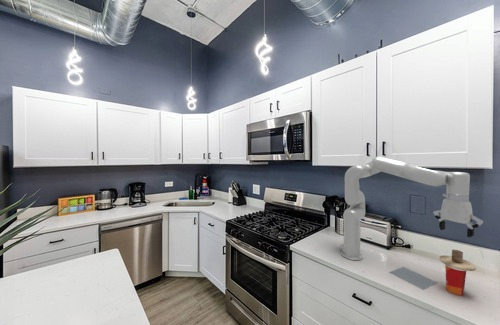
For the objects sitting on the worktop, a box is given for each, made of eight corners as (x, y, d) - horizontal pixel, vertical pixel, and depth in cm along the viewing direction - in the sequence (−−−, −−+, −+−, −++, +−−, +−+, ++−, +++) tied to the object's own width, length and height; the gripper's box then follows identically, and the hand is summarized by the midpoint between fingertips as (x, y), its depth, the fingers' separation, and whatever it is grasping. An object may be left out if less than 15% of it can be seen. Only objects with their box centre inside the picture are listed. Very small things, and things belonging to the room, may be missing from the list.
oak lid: (434, 260, 98) (434, 248, 97) (446, 255, 103) (446, 244, 102) (469, 273, 87) (469, 259, 87) (480, 267, 92) (481, 254, 92)
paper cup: (453, 287, 99) (454, 259, 99) (471, 297, 91) (472, 268, 91) (438, 287, 99) (439, 259, 98) (455, 298, 91) (456, 268, 91)
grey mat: (388, 273, 111) (388, 272, 110) (403, 267, 116) (403, 266, 116) (423, 290, 96) (423, 289, 96) (438, 283, 102) (438, 282, 102)
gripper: (430, 194, 101) (429, 228, 102) (480, 202, 86) (478, 241, 86) (438, 194, 104) (436, 226, 105) (487, 200, 89) (485, 238, 89)
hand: (455, 233), depth 95 cm, fingers open, 9 cm apart
